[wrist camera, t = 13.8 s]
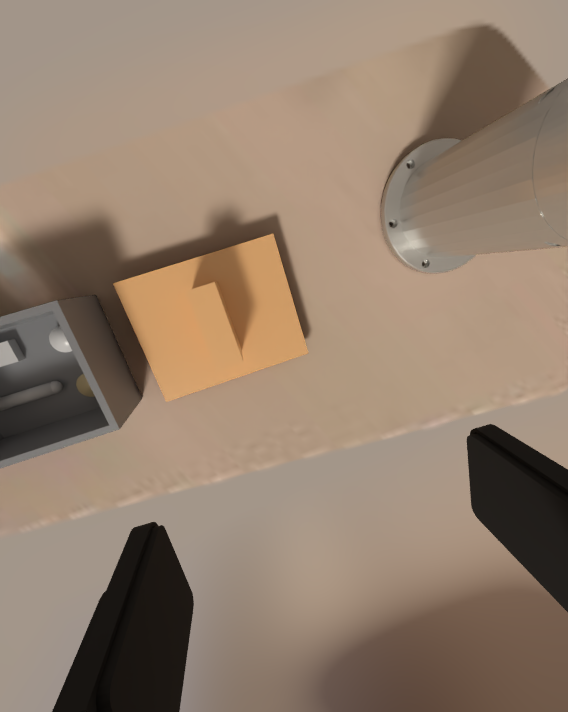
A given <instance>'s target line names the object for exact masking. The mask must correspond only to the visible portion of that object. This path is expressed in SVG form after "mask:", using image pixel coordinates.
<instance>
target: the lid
mask: <svg viewBox="0 0 568 712" xmlns="http://www.w3.org/2000/svg"><path fill="white" fill-rule="evenodd" d="M113 285H114V287H115V289H116V291H117V294H118V296H119V298H120V300H121V302H122V305H123V307H124V309H125V311H126V314H127V316H128V318H129V320H130V322H131V325H132V327H133V329H134V331H135V334H136V336H137V338H138V340H139V342H140V345H141V347H142V349H143V351H144V353H145V356H146V358H147V360H148V362H149V365H150V367H151V369H152V371H153V373H154V376H155V378H156V380H157V382H158V385H159V387H160V389H161V391H162V393H163V396H164V398H165V400H166V402H168V401H171V400H174V399H177V398H180V397H182V396H185V395H188V394H191V393H194V392H197V391H200V390H203V389H206V388H209V387H212V386H214V385H217V384H220V383H223V382H226V381H229V380H232V379H235V378H238V377H241V376H244V375H246V374H249V373H252V372H255V371H258V370H261V369H264V368H267V367H270V366H273V365H276V364H278V363H281V362H284V361H287V360H290V359H293V358H296V357H299V356H302V355H305V354H308V350H307V347H306V343H305V340H304V336H303V333H302V330H301V326H300V323H299V319H298V316H297V313H296V309H295V306H294V302H293V299H292V296H291V292H290V289H289V285H288V282H287V279H286V275H285V272H284V268H283V265H282V262H281V258H280V255H279V251H278V248H277V245H276V241H275V238H274V234H270V235H267V236H264V237H260V238H257V239H254V240H251V241H248V242H244V243H241V244H238V245H235V246H231V247H228V248H225V249H222V250H219V251H215V252H212V253H209V254H206V255H203V256H199V257H196V258H193V259H190V260H186V261H183V262H180V263H177V264H174V265H170V266H167V267H164V268H161V269H158V270H154V271H151V272H148V273H145V274H141V275H138V276H135V277H132V278H129V279H125V280H122V281H119V282H116V283H113Z"/></svg>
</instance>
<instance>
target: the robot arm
mask: <svg viewBox="0 0 568 712" xmlns="http://www.w3.org/2000/svg"><path fill="white" fill-rule="evenodd" d="M407 166H408V168H407ZM389 222H390V223H391V227H390V226H389ZM381 224H382V231H383V234H384V237H385V240H386V242H387V244H388V246H389V248H390V250H391V251H392V253H393V254H394V255H395V256H396V257H397V259H398V260H399V261H401V262H402V263H403V264H404V265H406V266H407V267H409V268H411V269H413V270H415V271H419V272H424V273H443V272H448V271H451V270H454V269H457V268H459V267H461V266H463V265H464V264H466V263H467V262H469V261H470V260H471V259H472V258H474V257H475V256H476V255H479V254H490V253H502V252H513V251H525V250H536V249H548V248H559V247H568V79H566V80H564V81H563V82H561V83H559V84H557V85H556V86H554V87H552V88H551V89H549V90H547V91H546V92H544V93H542V94H540V95H539V96H537V97H535V98H534V99H532V100H530V101H529V102H527V103H525V104H523V105H522V106H520V107H518V108H517V109H515V110H513V111H512V112H510V113H508V114H506V115H505V116H503V117H501V118H500V119H498V120H496V121H495V122H493V123H491V124H489V125H488V126H486V127H484V128H483V129H481V130H479V131H477V132H476V133H474V134H472V135H471V136H469V137H467V138H466V139H464V140H459V139H456V138H441V139H434V140H432V141H429V142H427V143H424V144H422V145H420V146H419V147H417V148H416V149H414V150H413V151H411V152H410V153H409V154H408V155H407V156H405V157H404V158H403V159H402V160H401V161H400V163H399V164H398V165H397V166H396V167H395V169H394V170H393V172H392V174H391V176H390V177H389V179H388V181H387V184H386V187H385V189H384V192H383V197H382V202H381ZM422 263H423V265H422ZM467 450H468V464H469V478H470V491H471V505H472V509H473V512H474V513H475V515H476V517H477V518H478V519H479V520H480V521H481V522H482V523H483V524H484V526H485V527H486V528H487V529H488V530H489V531H490V532H491V533H492V534H493V535H494V536H495V537H496V538H497V539H498V540H499V541H500V542H501V543H502V544H503V545H504V546H505V547H506V548H507V549H508V551H509V552H510V553H511V554H512V555H513V556H514V557H515V558H516V559H517V560H518V561H519V562H520V563H521V564H522V565H523V566H524V567H525V568H526V569H527V570H528V571H529V572H530V573H531V574H532V575H533V577H534V578H536V580H537V581H538V582H539V583H540V584H541V585H542V586H543V587H544V588H545V589H546V590H547V591H548V592H549V593H550V594H551V595H552V596H553V597H554V598H555V599H556V601H557V602H559V604H560V605H561V606H562V607H563V608H564V609H565V610H566V611H567V612H568V469H566V468H564V467H563V466H561V465H559V464H557V463H556V462H554V461H553V460H551V459H549V458H548V457H546V456H544V455H543V454H541V453H539V452H538V451H536V450H534V449H533V448H531V447H529V446H528V445H526V444H525V443H523V442H521V441H519V440H518V439H516V438H515V437H513V436H511V435H510V434H508V433H507V432H505V431H503V430H502V429H500V428H498V427H497V426H495V425H492V424H489V425H486V426H482V427H479V428H475V429H473V430H471V432H470V436H468V437H467ZM193 605H194V603H193V594H192V591H191V589H190V587H189V584H188V582H187V579H186V577H185V575H184V572H183V570H182V568H181V565H180V563H179V560H178V558H177V556H176V553H175V551H174V549H173V546H172V544H171V542H170V539H169V537H168V534H167V532H166V530H165V528H164V526H162V525H161V526H158V525H157V523H156V522H151V523H148V524H145V525H142V526H138V527H134V528H133V529H132V531H131V532H130V535H129V537H128V540H127V542H126V545H125V547H124V549H123V552H122V554H121V556H120V559H119V561H118V564H117V566H116V569H115V571H114V573H113V576H112V578H111V581H110V583H109V585H108V588H107V590H106V591H105V592H104V593H103V595H102V597H101V598H100V600H99V603H98V605H97V607H96V610H95V612H94V614H93V617H92V619H91V622H90V624H89V626H88V628H87V631H86V633H85V636H84V638H83V640H82V643H81V645H80V648H79V650H78V652H77V655H76V657H75V659H74V662H73V664H72V666H71V669H70V671H69V673H68V676H67V678H66V680H65V683H64V685H63V688H62V690H61V692H60V695H59V697H58V699H57V702H56V704H55V706H54V709H53V711H52V712H179V710H180V702H181V695H182V687H183V680H184V672H185V666H186V657H187V650H188V643H189V636H190V628H191V621H192V614H193Z"/></svg>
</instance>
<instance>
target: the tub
mask: <svg viewBox="0 0 568 712" xmlns="http://www.w3.org/2000/svg"><path fill="white" fill-rule="evenodd" d="M141 399H142V396H141V394H140V392H139V389H138V387H137V385H136V383H135V381H134V378H133V376H132V374H131V372H130V369H129V367H128V365H127V363H126V361H125V358H124V356H123V354H122V352H121V350H120V347H119V345H118V343H117V341H116V338H115V336H114V334H113V332H112V330H111V327H110V325H109V323H108V321H107V318H106V316H105V314H104V312H103V310H102V307H101V305H100V303H99V301H98V299H97V296H96V295H92V296H84V297H77V298H70V299H63V300H56V301H53V302H49V303H46V304H42V305H39V306H36V307H32V308H29V309H25V310H22V311H18V312H15V313H12V314H8V315H5V316H1V317H0V468H3V467H6V466H9V465H12V464H15V463H18V462H22V461H25V460H28V459H31V458H34V457H37V456H40V455H43V454H46V453H49V452H52V451H55V450H58V449H61V448H64V447H67V446H70V445H73V444H76V443H79V442H82V441H85V440H88V439H91V438H94V437H98V436H101V435H104V434H107V433H110V432H113V431H116V430H119V429H120V428H121V427H122V425H123V424H124V423H125V421H126V420H127V418H128V417H129V416H130V414H131V413H132V412H133V410H134V409H135V408H136V406H137V405H138V403H139V402H140V401H141Z"/></svg>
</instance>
